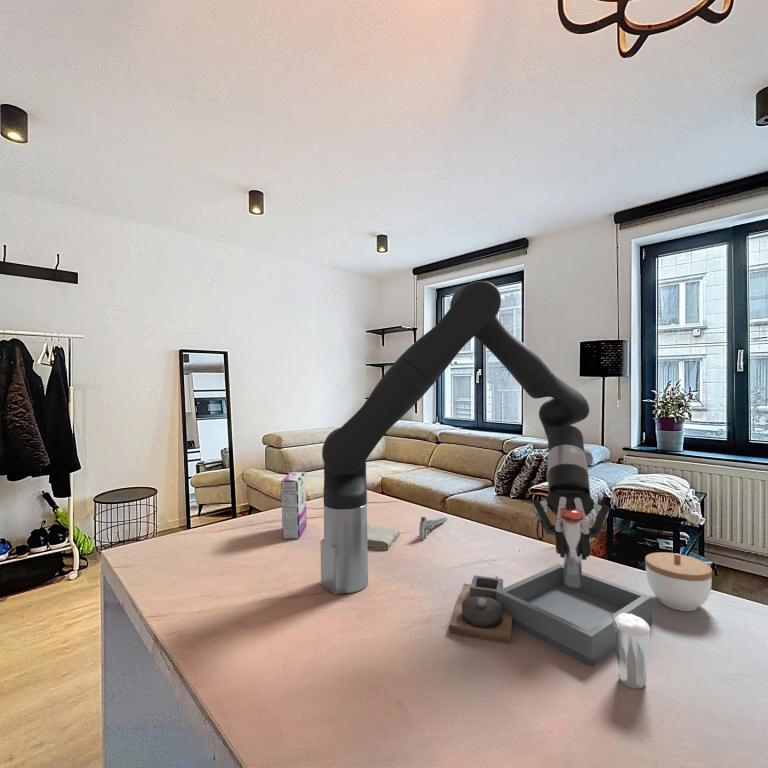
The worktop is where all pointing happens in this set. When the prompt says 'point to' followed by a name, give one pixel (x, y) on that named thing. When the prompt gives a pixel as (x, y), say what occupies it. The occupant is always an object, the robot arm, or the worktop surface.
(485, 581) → the wooden stand
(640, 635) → the milkshake
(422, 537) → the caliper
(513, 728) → the worktop surface
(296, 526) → the candy bar box
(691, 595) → the lidded jar
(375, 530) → the washcloth
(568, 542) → the pin
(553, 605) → the tray
